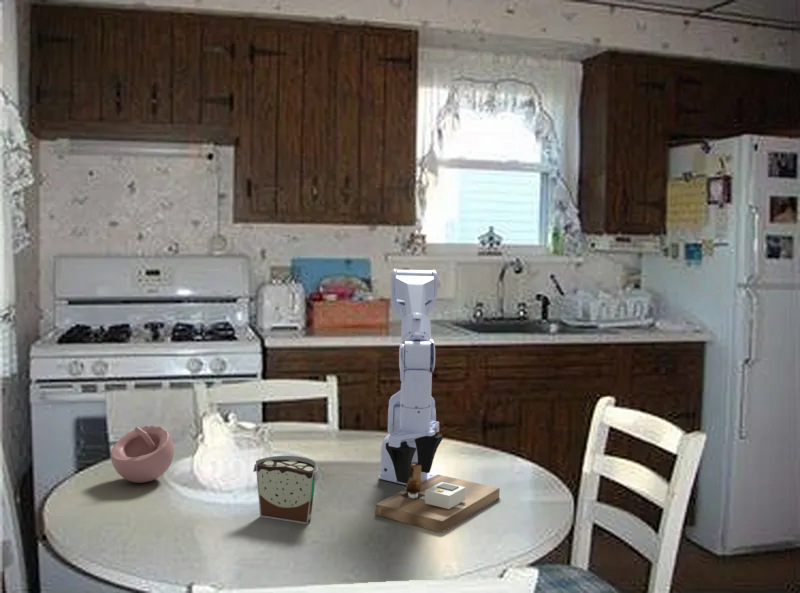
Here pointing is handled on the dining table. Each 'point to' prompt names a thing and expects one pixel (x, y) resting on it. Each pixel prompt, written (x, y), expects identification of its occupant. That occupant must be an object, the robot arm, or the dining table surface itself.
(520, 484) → the dining table surface
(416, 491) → the brown translucent cylinder
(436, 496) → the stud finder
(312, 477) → the food container
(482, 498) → the board
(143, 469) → the mortar and pestle
